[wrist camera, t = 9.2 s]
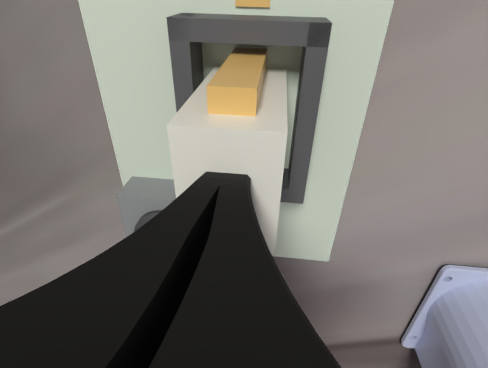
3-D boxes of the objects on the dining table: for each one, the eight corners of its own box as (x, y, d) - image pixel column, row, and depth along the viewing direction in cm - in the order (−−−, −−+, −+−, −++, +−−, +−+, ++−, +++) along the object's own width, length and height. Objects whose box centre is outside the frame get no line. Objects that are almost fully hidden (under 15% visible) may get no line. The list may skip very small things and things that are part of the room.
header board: (326, 250, 21) (333, 292, 18) (142, 233, 22) (121, 270, 19) (396, -41, 12) (431, -49, 9) (80, -47, 13) (23, -55, 10)
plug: (278, 155, 16) (274, 253, 10) (218, 151, 16) (181, 244, 11) (288, 49, 13) (291, 102, 7) (215, 46, 13) (162, 95, 8)
